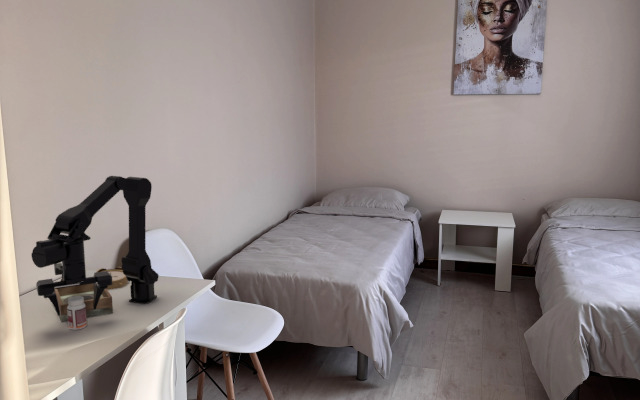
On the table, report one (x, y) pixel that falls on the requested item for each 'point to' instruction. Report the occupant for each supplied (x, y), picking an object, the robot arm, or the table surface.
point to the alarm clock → (116, 277)
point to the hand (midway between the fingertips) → (77, 312)
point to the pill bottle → (76, 313)
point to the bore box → (88, 294)
